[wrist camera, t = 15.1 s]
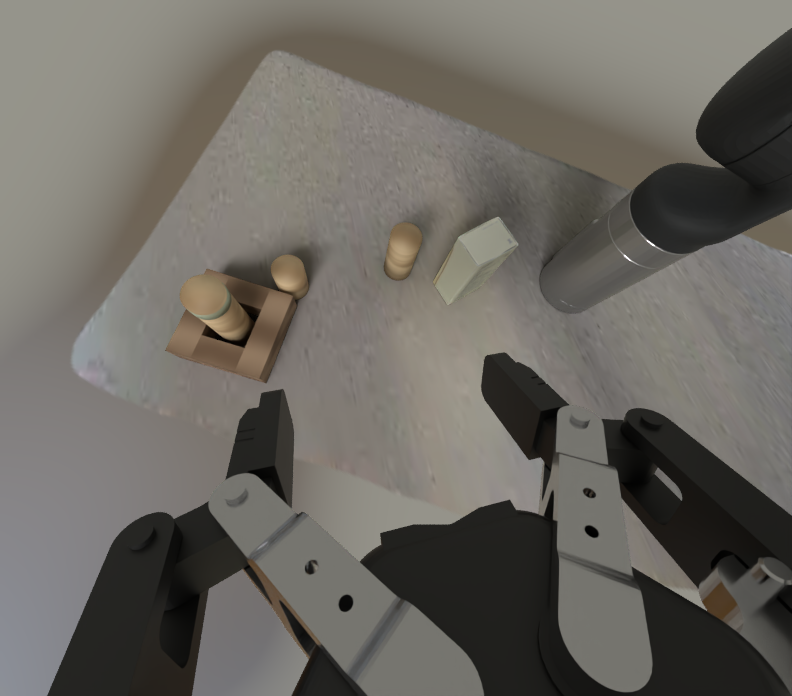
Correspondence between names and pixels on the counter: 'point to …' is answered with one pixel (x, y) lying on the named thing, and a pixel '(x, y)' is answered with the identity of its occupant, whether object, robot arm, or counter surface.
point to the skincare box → (474, 259)
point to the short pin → (290, 276)
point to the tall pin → (217, 308)
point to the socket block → (262, 344)
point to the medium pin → (402, 250)
